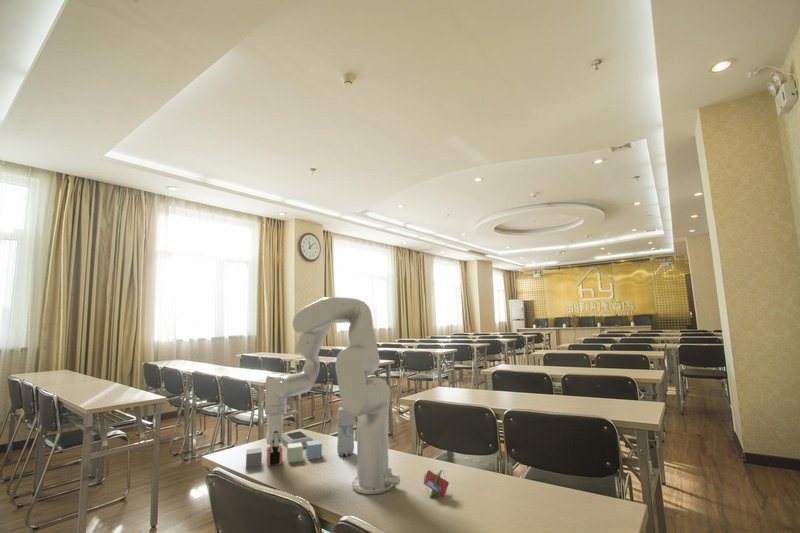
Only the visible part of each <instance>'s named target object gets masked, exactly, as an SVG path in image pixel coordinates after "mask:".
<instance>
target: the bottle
mask: <svg viewBox="0 0 800 533" xmlns="http://www.w3.org/2000/svg"><path fill="white" fill-rule="evenodd" d="M336 418H337V420H336V422H337V445H336V447H337V448H336V450H337V454H338V456H341V457H344V455H345V457H348V456H352V455H353V453H354V450H355V440H354V438H355V437H354V422H355V417H354V416H350V415H349V414H347V413H346V411H345V410H344V408H343V406H342V403H341V405H340V407H338V408H337V415H336Z"/></svg>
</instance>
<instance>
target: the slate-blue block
mask: <svg viewBox="0 0 800 533" xmlns="http://www.w3.org/2000/svg"><path fill="white" fill-rule="evenodd" d="M322 450H323V444H322V442H321V440H320V439H316V440H314V439H313V441H307V442H306V448H305V456H307V457H306V459H307V460H308V459H310V460H315V459H314V458H317V459H320V458H319V457H323V456H322V453H323V452H322Z"/></svg>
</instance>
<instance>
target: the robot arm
mask: <svg viewBox="0 0 800 533" xmlns="http://www.w3.org/2000/svg"><path fill="white" fill-rule="evenodd" d="M342 323H349V326H348V327H349V328H348V333H347V334H348V340H349V341H348V342H349V346H345V347H344V348H342V349H341V350H340V351H339V352H338V354H337V356H336V360H335V375H336V381H337V385H338V392H339V398H340V402H341V403H342V406H343V408H344V410H345V411H346V413H347V414H349V415H350V416H354V418H355V417H357V418H358V419H357V432H356V433H357V434H356V435H357V436H356V438H357V439H356V442H357V445H356V446H357V449H356V450H357V452H356V453H357V454H356V455H357V458H356V459H357V468H356V470H357V471H356V472H357V474H356V475H357V477H355V478H354V479H353V480H352V482H351V483H352V484H351V486H352V487H351V488H352V489H353V490H354V491H355V492H357V493H360V494H364V495H378V494H382V493H386V492H388V491H390V490H391V489H392V488H393V487H394V486H400V484H401V477H400V474H393V472H392V467H389V411H390V410H389V409H390V403H391V389H390V386H389V385H388V383H387V382H386V381H385V380H383V379H382V378H379V377H371V378H367V379H366V375H370V374H373V373H375V372H376V371H378V369H379V367H380V363H381V360H380V359H381V358H380V354H379V349H378V345H377V339H376V334H375V330H374V329H375V328H374V323H373V316H372V311H371V308H370V307H369V305H368V304H367V303H366V302H365V301H363V300H360V299H357V298H351V297H340V296H338V297H337V296H336V297H335V296H327V297H323V298H320V299H318V300H316V301H314V302H312V303H310V304H308V305H306V306H304V307H302V308H300V309H299V310H298V311H297V312H296V313H295V315H294V316H293V320H292V328H293V329H294V331H295V332H296V333H297V334H299V337H298V339H297V342H296V343H295V348H294V349H295V351H296V352H297V353H298V354H299V355H301V356H302V357H303V358H305V361H304V365H303V367H302V370H301V371H300V372H296V373H292V374H288V375H287V374H285V373H282V372H279V373H271V374H268V375H267V376H266V378H265V394H264V396H265V398H264V400H265V401H264V415H266V416H267V417H266V439H265V440H266V443H267V445H268V446H271V453H270V466H275V464H277V465H280V464H279V463H280V451H279V445H281V444H282V443H281V442H282V434H283V428H284V427H283V426H284V424H283V423H284V414H286V413H287V408H288V407H287V406H288V405H287V404H288V403H287V402H288V398H290V397H294V396H298V395H302V394H306V393H308V392H309V391H311V389H312V388H313V387H314V384H315V382H316V381H317V378H318V376H319V374H320V367H321V366H320V364H321V363H320V358H319V352H320V351H321V348H322V346H323V344H324V341H325V339H326V337H327V335H328V333H329V330H330V328H331V326H332V324H342Z"/></svg>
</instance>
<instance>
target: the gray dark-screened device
mask: <svg viewBox="0 0 800 533" xmlns="http://www.w3.org/2000/svg"><path fill="white" fill-rule="evenodd" d="M286 433H287V434H285V433H282V443H283V444H284V445H285V447H286V448H287V444H292V443H300V442H301V443H302V446H303V449H306V448H305V447H306V442H307V441H314V439H313V438H312V437H310V436H308V435H307V434H306V433H305V432H303V431H302V430H297V431H292V432H286ZM282 443H281V444H282ZM283 444H282V445H283ZM284 445H283V446H284Z"/></svg>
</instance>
